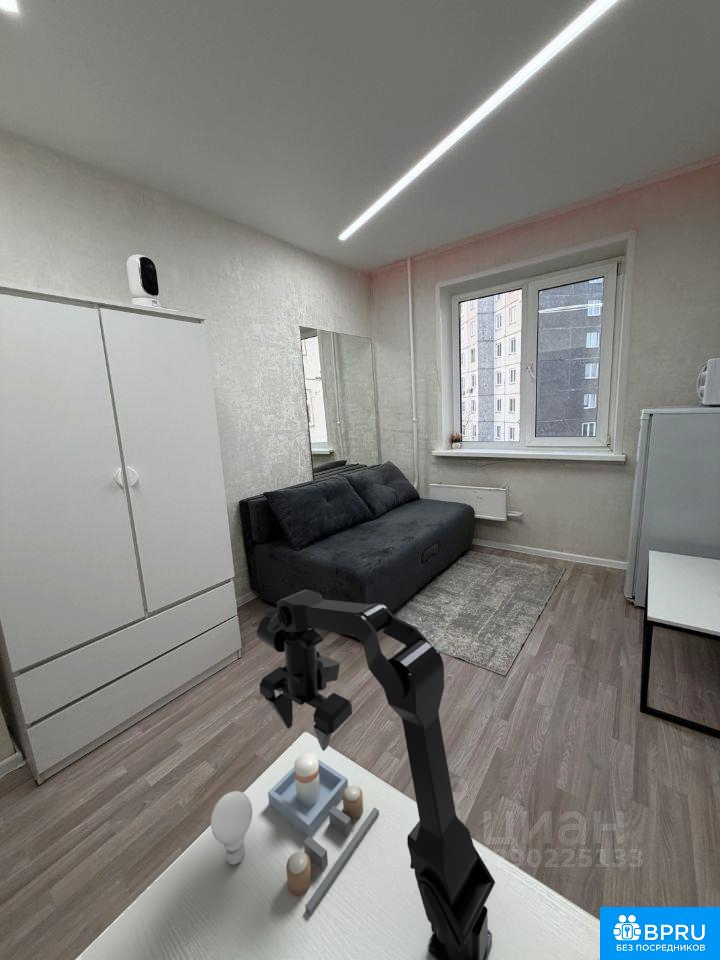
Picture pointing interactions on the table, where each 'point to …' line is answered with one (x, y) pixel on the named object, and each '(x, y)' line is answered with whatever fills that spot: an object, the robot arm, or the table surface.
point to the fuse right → (353, 802)
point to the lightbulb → (232, 823)
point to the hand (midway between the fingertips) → (306, 737)
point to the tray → (313, 816)
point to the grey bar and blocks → (320, 854)
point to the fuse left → (298, 873)
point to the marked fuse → (307, 779)
